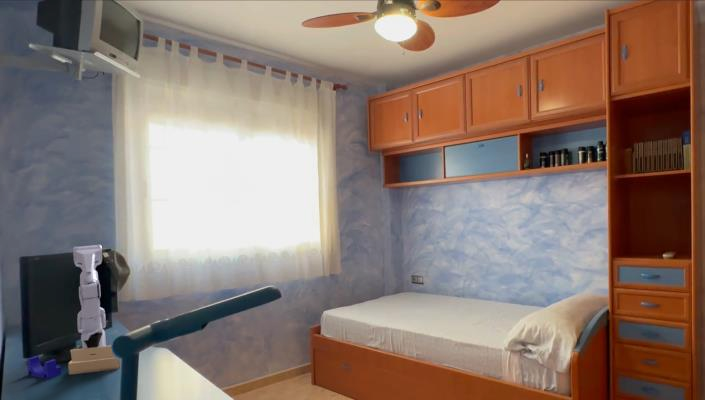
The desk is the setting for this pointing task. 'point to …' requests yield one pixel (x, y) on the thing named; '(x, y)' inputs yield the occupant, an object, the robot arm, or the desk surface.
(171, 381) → the desk surface
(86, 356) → the carton flap
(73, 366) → the carton
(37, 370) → the cable clip
